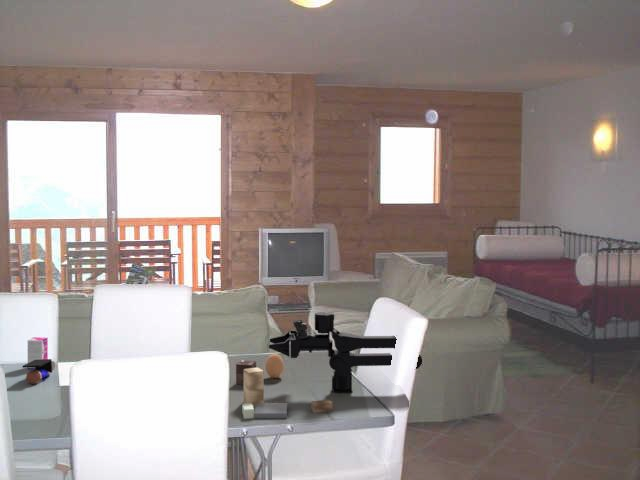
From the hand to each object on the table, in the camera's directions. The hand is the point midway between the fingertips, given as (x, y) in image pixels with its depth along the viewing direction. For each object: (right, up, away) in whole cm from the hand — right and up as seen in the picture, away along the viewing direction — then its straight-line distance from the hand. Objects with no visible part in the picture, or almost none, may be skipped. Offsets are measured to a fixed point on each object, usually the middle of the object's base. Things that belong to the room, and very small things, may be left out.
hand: (269, 343), depth 241 cm
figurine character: (-85, -15, +14) cm, 87 cm away
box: (-9, -16, +11) cm, 21 cm away
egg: (+1, -15, +17) cm, 23 cm away
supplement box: (-92, -14, +30) cm, 98 cm away
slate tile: (+2, -18, -22) cm, 29 cm away
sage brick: (-5, -19, -25) cm, 31 cm away
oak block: (-4, -18, -13) cm, 22 cm away
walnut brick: (+18, -18, -20) cm, 33 cm away
